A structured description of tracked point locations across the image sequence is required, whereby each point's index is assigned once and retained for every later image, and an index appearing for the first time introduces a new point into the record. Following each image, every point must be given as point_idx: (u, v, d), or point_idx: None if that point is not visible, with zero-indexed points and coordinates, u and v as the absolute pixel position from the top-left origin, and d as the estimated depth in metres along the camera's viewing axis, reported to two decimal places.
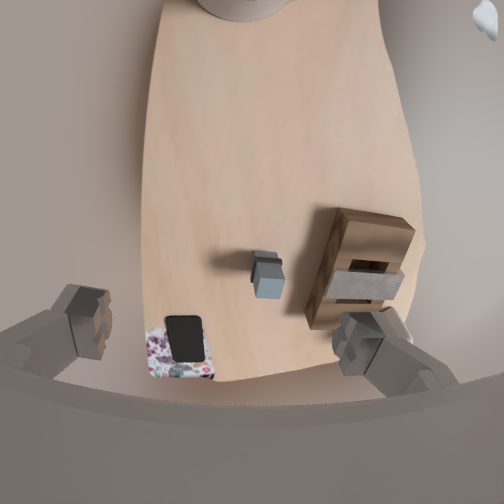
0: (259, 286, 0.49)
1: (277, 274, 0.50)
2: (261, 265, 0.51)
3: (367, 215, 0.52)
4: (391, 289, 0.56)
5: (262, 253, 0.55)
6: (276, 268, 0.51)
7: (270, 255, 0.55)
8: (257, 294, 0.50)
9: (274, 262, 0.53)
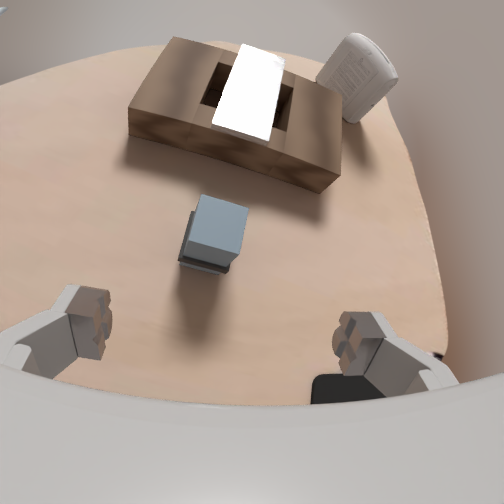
0: (209, 243, 0.24)
1: (195, 211, 0.25)
2: None
3: None
4: (265, 59, 0.34)
5: None
6: (193, 217, 0.27)
7: None
8: (231, 250, 0.24)
9: (189, 224, 0.28)
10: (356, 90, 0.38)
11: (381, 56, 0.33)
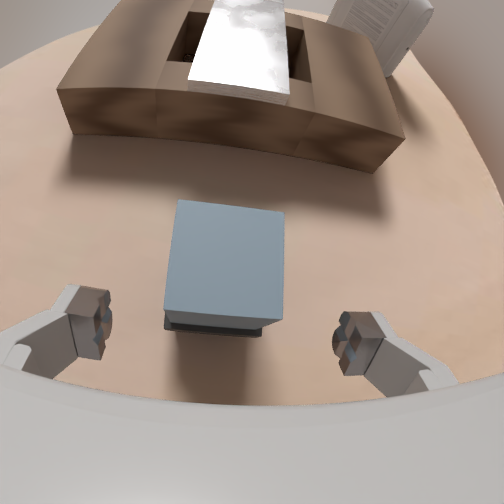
0: (213, 309, 0.10)
1: None
2: None
3: None
4: None
5: None
6: None
7: None
8: (262, 313, 0.10)
9: None
10: (383, 30, 0.24)
11: None
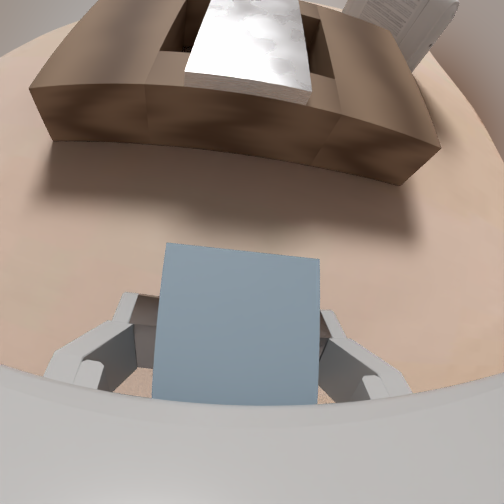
0: None
1: None
2: None
3: None
4: None
5: None
6: None
7: None
8: None
9: None
10: (405, 24, 0.21)
11: None
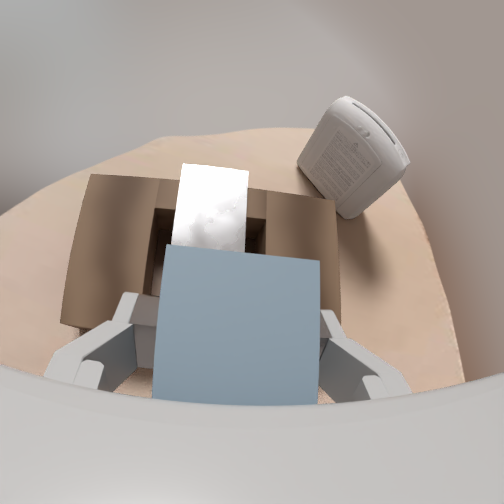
0: None
1: None
2: None
3: None
4: (218, 183, 0.27)
5: None
6: None
7: None
8: None
9: None
10: (353, 184, 0.31)
11: (384, 136, 0.25)
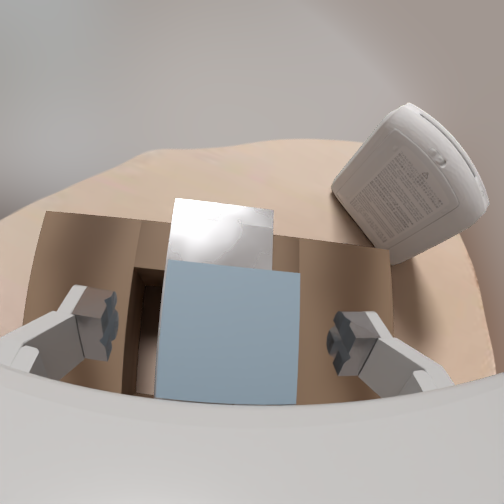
0: (214, 396, 0.08)
1: None
2: None
3: None
4: (229, 230, 0.18)
5: None
6: None
7: None
8: (273, 399, 0.08)
9: None
10: (412, 226, 0.22)
11: (464, 166, 0.16)
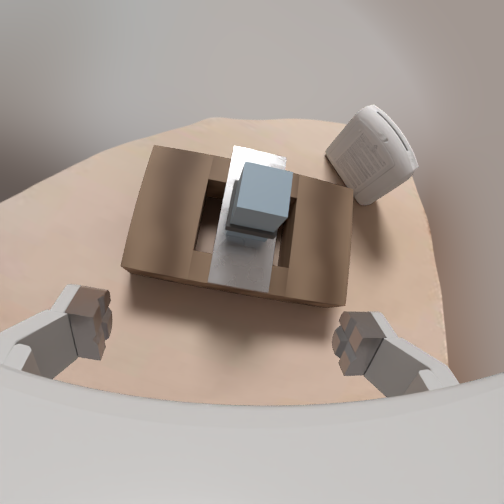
0: (258, 208, 0.24)
1: (240, 178, 0.25)
2: (232, 212, 0.27)
3: None
4: None
5: None
6: (238, 185, 0.27)
7: None
8: (279, 213, 0.24)
9: (234, 193, 0.28)
10: (370, 178, 0.36)
11: (399, 143, 0.31)
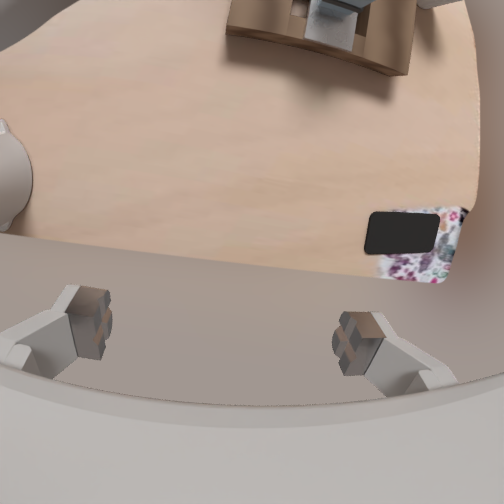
0: None
1: None
2: None
3: None
4: None
5: None
6: None
7: None
8: None
9: None
10: None
11: None
